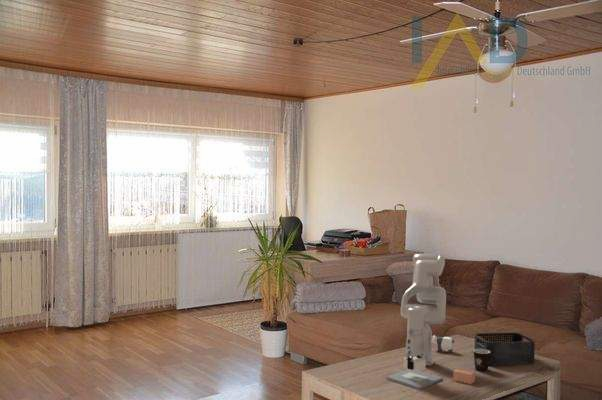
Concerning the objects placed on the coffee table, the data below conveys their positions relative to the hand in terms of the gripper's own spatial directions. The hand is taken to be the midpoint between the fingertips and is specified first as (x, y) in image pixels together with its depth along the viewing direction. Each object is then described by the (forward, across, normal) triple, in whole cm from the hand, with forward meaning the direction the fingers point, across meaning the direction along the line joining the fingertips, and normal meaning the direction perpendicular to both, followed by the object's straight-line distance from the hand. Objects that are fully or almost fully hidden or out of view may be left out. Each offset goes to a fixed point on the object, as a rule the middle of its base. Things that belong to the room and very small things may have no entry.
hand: (414, 367), depth 290 cm
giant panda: (+6, +52, +17) cm, 55 cm away
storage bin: (+6, +64, -16) cm, 66 cm away
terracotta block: (+6, +17, -18) cm, 26 cm away
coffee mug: (+6, +38, -17) cm, 42 cm away
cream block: (+1, 0, 0) cm, 1 cm away
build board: (+6, 0, 0) cm, 6 cm away
